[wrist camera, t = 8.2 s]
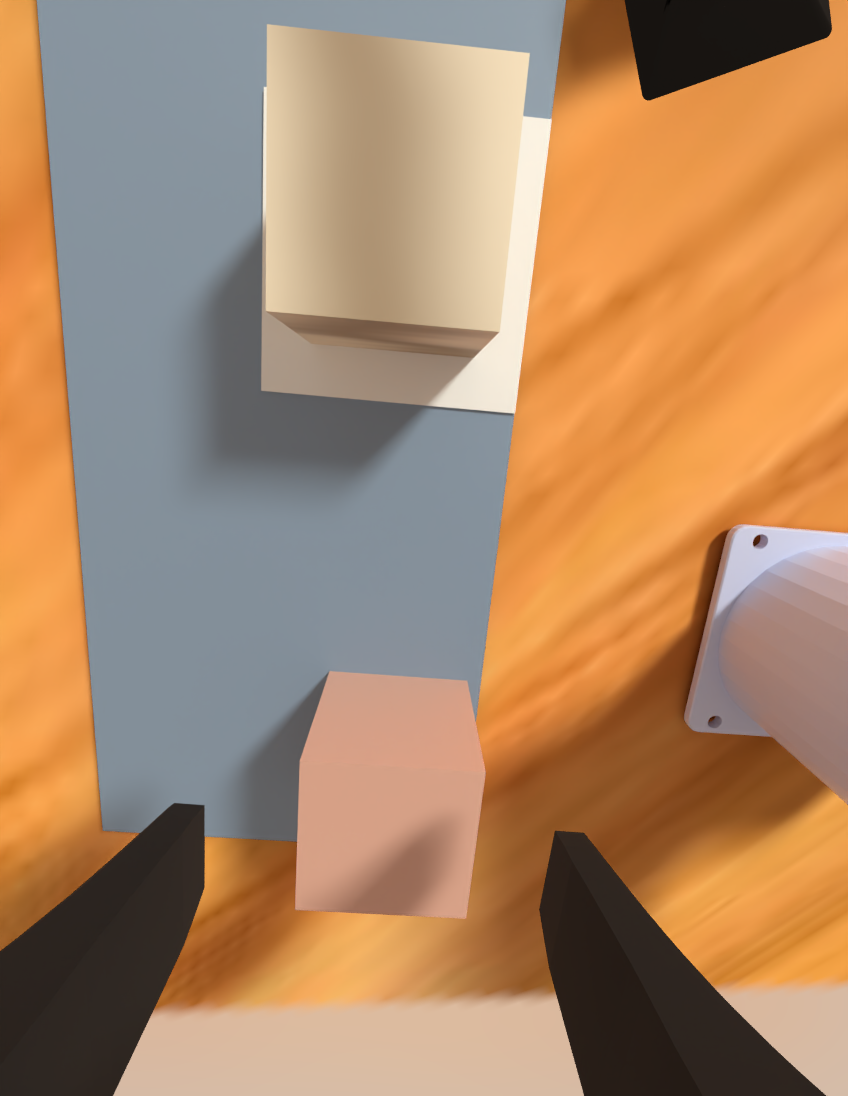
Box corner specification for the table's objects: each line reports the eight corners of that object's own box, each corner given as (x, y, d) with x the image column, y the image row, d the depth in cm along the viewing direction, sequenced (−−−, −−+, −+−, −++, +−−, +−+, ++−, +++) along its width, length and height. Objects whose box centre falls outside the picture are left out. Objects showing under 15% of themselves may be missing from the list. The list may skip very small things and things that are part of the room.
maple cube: (491, 173, 15) (529, 53, 10) (473, 357, 16) (499, 332, 11) (315, 155, 15) (267, 23, 10) (311, 343, 16) (265, 311, 11)
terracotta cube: (467, 680, 19) (485, 772, 14) (453, 796, 20) (466, 918, 15) (329, 671, 19) (299, 760, 14) (324, 789, 20) (295, 909, 15)
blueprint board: (572, -83, 14) (580, -109, 13) (458, 839, 21) (459, 852, 20) (39, -152, 13) (19, -183, 13) (111, 819, 21) (101, 832, 20)
